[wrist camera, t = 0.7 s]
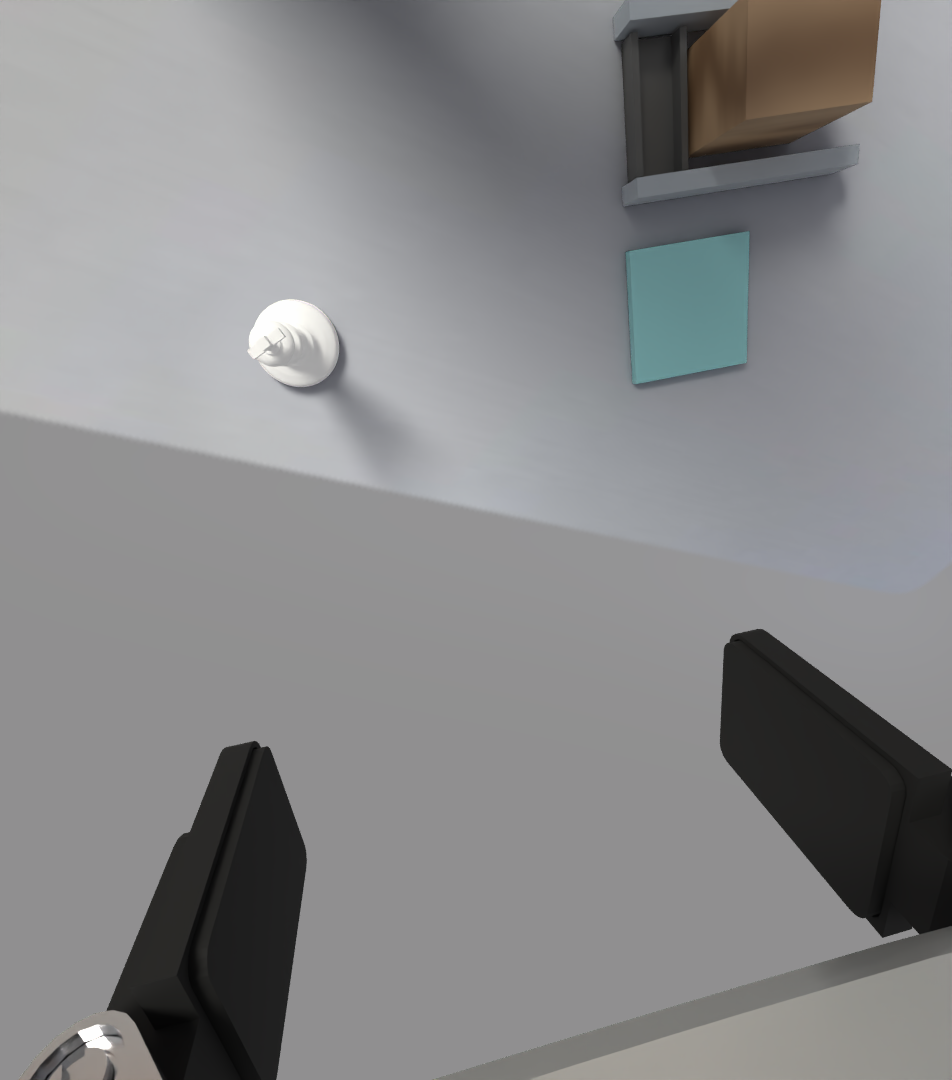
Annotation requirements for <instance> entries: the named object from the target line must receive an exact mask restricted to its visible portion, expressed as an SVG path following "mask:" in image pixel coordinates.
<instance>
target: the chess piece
mask: <svg viewBox="0 0 952 1080" xmlns="http://www.w3.org/2000/svg"><path fill="white" fill-rule="evenodd" d="M249 346H250V349H248V350H247V351H248V353H249V354H250V355H251V356H252V358H253V359H257V360H258V361H259V363H260V364H261V366H262V367H263V368H264V370H265V371H266V372H267V373H268V374H269V375H270V376H272V377H273V378H274V379H276V380H278V381H279V382H281V383H284V384H286V385H289V386H294V387H308V386H312V385H315V384H318V383H320V382H321V381H323V380H324V379H326V378H327V377H328V376H329V375H330V374H331V372H332V371H333V369H334V368H335V366H336V363H337V360H338V356H339V340H338V336H337V333H336V330H335V328H334V326H333V324H332V322H331V321H330V320H329V318H328V317H327V316H326V315H325V314H324V313H323V312H322V311H321V310H320V309H318V308H317V307H315V306H314V305H312V304H310V303H307V302H304V301H301V300H293V299H290V300H282V301H279V302H276V303H274V304H272V305H270V306H269V307H268V308H266V309H265V310H264V311H263V312H262V313H261V314H260V316H259V317H258V319H257V321H256V323H255V326H254V328H253V329H252V330H251V333H250V336H249Z"/></svg>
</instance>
